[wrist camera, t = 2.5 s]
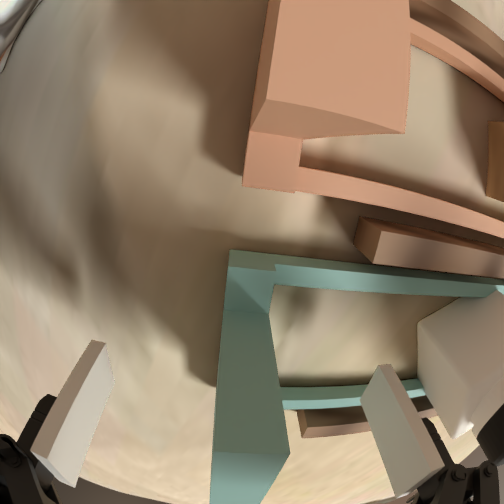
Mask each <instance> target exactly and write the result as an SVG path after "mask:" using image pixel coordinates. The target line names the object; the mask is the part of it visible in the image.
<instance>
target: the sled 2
mask: <svg viewBox="0 0 504 504" xmlns="http://www.w3.org/2000/svg"><path fill="white" fill-rule="evenodd" d="M274 284H277V285H287V286H298V287H310V288H322V289H335V290H348V291H362V292H377V293H393V294H411V295H431V296H454V297H487V296H489V295H490V294H491V293H493V292H494V291H495V290H498V291H499V292H501V293H502V294H503V295H504V280H502V279H493V278H484V277H475V276H466V275H457V274H448V273H439V272H430V271H421V270H412V269H403V268H394V267H385V266H376V265H367V264H358V263H349V262H340V261H331V260H322V259H313V258H304V257H295V256H286V255H277V254H268V253H259V252H250V251H241V250H232V249H230V252H229V261H228V271H227V280H226V289H225V299H224V309H223V319H222V330H221V340H220V351H219V362H218V374H217V386H216V399H215V413H214V430H213V446H212V463H211V483H210V504H260V503H261V501H262V500H263V498H264V496H265V495H266V493H267V492H268V490H269V489H270V487H271V485H272V484H273V482H274V480H275V479H276V477H277V475H278V474H279V472H280V470H281V469H282V467H283V465H284V463H285V462H286V460H287V458H288V456H289V455H290V448H289V442H288V435H287V429H286V422H285V416H284V409H322V408H338V407H350V406H360V405H361V403H360V398H361V396H362V395H363V393H364V391H365V389H366V388H367V386H368V384H366V385H353V386H334V387H280V383H279V377H278V371H277V364H276V358H275V352H274V345H273V339H272V333H271V326H270V320H269V308H270V303H271V298H272V293H273V288H274ZM401 383H402V385H403V386H404V388H405V390H406V392H407V394H408V395H409V397H410V398H414V397H419V396H424V395H426V394H425V392H424V387H423V385H422V383H421V382H420V380H419V379H418V378H417V379H410V380H403V381H401Z"/></svg>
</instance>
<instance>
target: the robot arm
mask: <svg viewBox="0 0 504 504" xmlns="http://www.w3.org/2000/svg"><path fill="white" fill-rule="evenodd" d="M114 384H115V380H114V376H113V372H112V368H111V364H110V360H109V355H108V351H107V346H106V343H104V342H99V341H95V340H91V342H90V343H89V345H88V347H87V348H86V350H85V351H84V353H83V355H82V356H81V358H80V359H79V361H78V363H77V364H76V366H75V368H74V369H73V371H72V373H71V374H70V376H69V378H68V379H67V381H66V383H65V384H64V386H63V388H62V390H61V391H60V393H59V395H58V397H55V396H52V395H50V394H47V395H46V396H45V397H43V398H42V399H41V400H40V401H39V403H38V404H37V406H36V408H35V411H33V413H32V415H31V418H29V420H28V422H27V424H26V426H25V428H24V429H23V431H22V433H21V435H20V437H19V439H18V441H17V442H15V441H14V439H13V438H12V437H10V436H8V435H6V434H0V504H63V503H62V501H61V499H60V497H59V495H58V493H57V490H56V488H55V485H54V483H53V482H52V479H53V476H55V477H56V478H57V479H58V480H59V481H60V482H63V483H65V484H67V485H70V486H72V487H74V488H75V486H76V483H77V479H78V477H79V474H80V471H81V468H82V465H83V462H84V459H85V457H86V454H87V451H88V448H89V446H90V443H91V440H92V438H93V435H94V432H95V430H96V427H97V425H98V422H99V420H100V417H101V415H102V412H103V410H104V407H105V405H106V403H107V400H108V398H109V396H110V393H111V391H112V389H113V386H114ZM360 403H361V405H362V408H363V410H364V413H365V415H366V418H367V420H368V423H369V425H370V428H371V431H372V433H373V436H374V438H375V441H376V444H377V446H378V449H379V452H380V454H381V457H382V460H383V463H384V465H385V468H386V471H387V474H388V476H389V479H390V482H391V485H392V488H393V491H394V494H395V497H396V498H399V497H402V496H405V495H408V494H410V493H412V492H413V491H414V490H416V489H417V490H418V493H416V494H415V495H413V496H412V497H411V498H409V499H408V500H407V503H409V502H410V501H412V500H413V499H414V500H413V502H412V503H411V504H500V500H499V480H498V470H497V466H496V465H495V463H493V462H492V461H484V462H483V463H482V464H481V465H480V466H479V467H474V468H465V467H464V466H462V465H460V464H455V463H454V462H453V461H452V459H451V457H450V455H449V453H448V451H447V449H446V447H445V445H444V443H443V441H442V440H441V437H440V435H439V434H438V433H437V430H436V428H435V426H434V424H433V423H432V422H431V421H430V420H429V419H428V418H427V417H425V418H421V417H420V415H419V414H418V412H417V410H416V408H415V406H414V404H413V403H412V401H411V399H410V397H409V395H408V394H407V392H406V390H405V388H404V386H403V385H402V383H401V381H400V379H399V378H398V376H397V374H396V373H395V371H394V369H393V367H392V366H391V364H385V365H378V367H377V369H376V371H375V373H374V375H373V376H372V378H371V380H370V382H369V384H368V386H367V388H366V389H365V391H364V393H363V395H362V396H361V398H360ZM472 496H474V497H473V501H471V500H470V497H472Z"/></svg>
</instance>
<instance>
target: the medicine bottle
mask: <svg viewBox="0 0 504 504" xmlns="http://www.w3.org/2000/svg"><path fill="white" fill-rule="evenodd" d="M417 342H418V367H417V378H418V379H419V380H420V382H421V383H422V385H423V387H424V392H425V394H426V396H427V397H428V399H429V401H430V402H431V404H432V406H433V407H434V409H435V411H436V412H437V414H438V416H439V418H440V419H441V421H442V423H443V425H444V426H445V428H446V430H447V432H448V434H449V435H450V437H451V438H452V439H456V438H458V437H459V436H461V435H462V434H464V433H465V432H467V431H468V430H470V429H471V428H472V432H473V434H474V436H475V437H476V439H477V441H478V442H479V444H480V446H481V448H482V449H483V451H484V453H485V455H486V456H487V458H488V460H489V461H492V462H493V463H495V465H496V466H500V465H503V464H504V295H503V294H502V293H501V292H499V291H498V290H495V291H494V292H493V293H491V294H490V295H489V296H487V297H460V298H458V299H457V300H455V301H453V302H452V303H450V304H448V305H447V306H445V307H443V308H441V309H440V310H438V311H436V312H434V313H433V314H431V315H429V316H427V317H426V318H424V319H422V320H420V321H419V322H418V324H417Z"/></svg>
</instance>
